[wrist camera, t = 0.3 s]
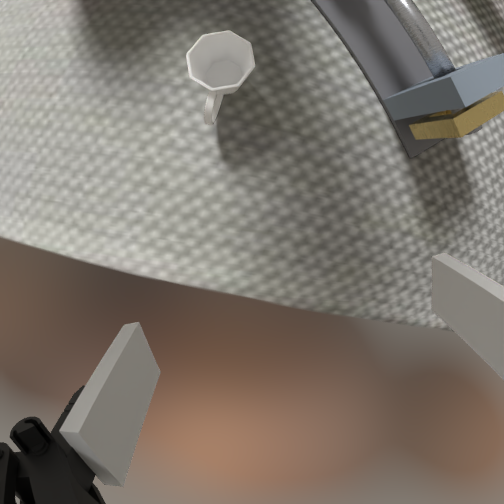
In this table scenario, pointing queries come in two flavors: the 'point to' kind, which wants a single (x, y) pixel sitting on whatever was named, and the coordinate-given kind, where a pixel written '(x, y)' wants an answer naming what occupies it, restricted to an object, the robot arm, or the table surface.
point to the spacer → (458, 119)
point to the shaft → (424, 40)
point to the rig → (405, 67)
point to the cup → (219, 67)
